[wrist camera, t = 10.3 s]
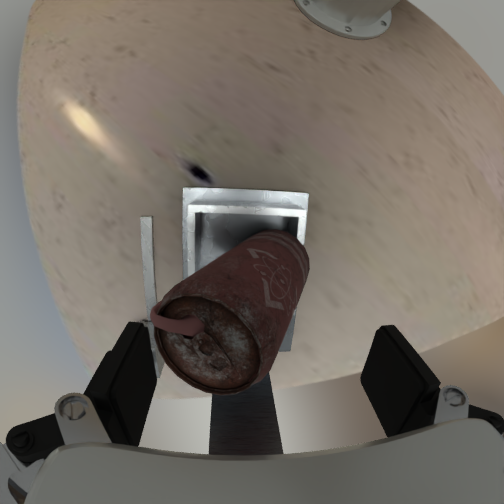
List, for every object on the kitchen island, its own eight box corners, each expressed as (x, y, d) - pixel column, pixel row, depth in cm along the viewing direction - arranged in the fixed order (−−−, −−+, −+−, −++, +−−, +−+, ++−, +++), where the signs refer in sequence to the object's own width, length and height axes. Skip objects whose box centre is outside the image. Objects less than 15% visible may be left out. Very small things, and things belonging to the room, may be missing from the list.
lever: (140, 321, 30) (120, 357, 23) (164, 323, 30) (149, 361, 23) (144, 349, 31) (128, 387, 24) (168, 351, 31) (155, 391, 24)
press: (141, 187, 26) (-97, 267, 2) (305, 192, 28) (542, 294, 4) (152, 347, 32) (90, 535, 8) (287, 352, 33) (342, 547, 9)
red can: (247, 219, 24) (143, 266, 12) (318, 239, 23) (286, 318, 10) (234, 281, 26) (142, 367, 13) (299, 303, 25) (252, 417, 12)
